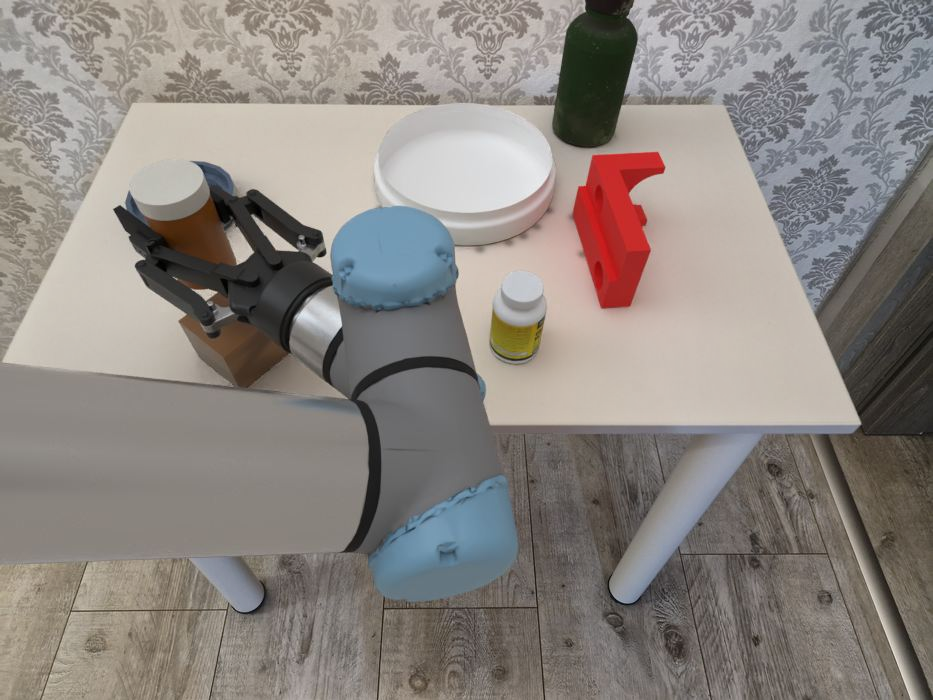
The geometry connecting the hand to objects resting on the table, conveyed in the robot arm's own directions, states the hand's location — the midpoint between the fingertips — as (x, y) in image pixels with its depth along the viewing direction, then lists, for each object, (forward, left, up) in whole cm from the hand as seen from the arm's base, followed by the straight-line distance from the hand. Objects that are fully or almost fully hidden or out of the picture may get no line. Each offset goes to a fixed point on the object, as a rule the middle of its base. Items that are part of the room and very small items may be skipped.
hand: (153, 200), depth 60 cm
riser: (+2, -5, -21) cm, 21 cm away
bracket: (+53, -11, -21) cm, 58 cm away
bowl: (+1, +23, -21) cm, 31 cm away
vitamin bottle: (+2, -5, -6) cm, 8 cm away
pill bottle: (+32, -18, -21) cm, 42 cm away
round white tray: (+40, +12, -21) cm, 47 cm away
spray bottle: (+64, +16, -21) cm, 69 cm away
